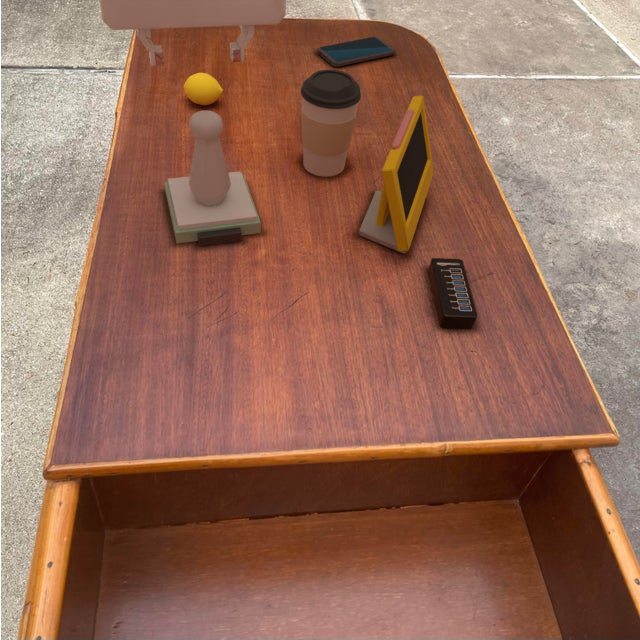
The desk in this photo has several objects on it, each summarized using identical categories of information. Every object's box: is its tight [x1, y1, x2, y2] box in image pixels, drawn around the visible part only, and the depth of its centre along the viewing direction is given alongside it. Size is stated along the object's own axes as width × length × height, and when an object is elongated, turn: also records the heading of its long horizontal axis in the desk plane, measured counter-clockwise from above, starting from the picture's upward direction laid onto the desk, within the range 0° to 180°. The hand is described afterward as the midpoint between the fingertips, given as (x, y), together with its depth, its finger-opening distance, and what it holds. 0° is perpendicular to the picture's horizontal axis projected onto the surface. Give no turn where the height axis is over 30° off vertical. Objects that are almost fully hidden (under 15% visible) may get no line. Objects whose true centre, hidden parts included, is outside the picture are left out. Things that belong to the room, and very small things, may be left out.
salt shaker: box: [189, 110, 231, 206], centre depth 88 cm, size 6×6×13 cm
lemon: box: [183, 72, 224, 106], centre depth 113 cm, size 7×5×5 cm
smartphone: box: [317, 36, 395, 68], centre depth 133 cm, size 8×15×1 cm, turn 121°
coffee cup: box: [300, 68, 362, 178], centre depth 100 cm, size 9×9×15 cm
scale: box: [163, 171, 262, 247], centre depth 93 cm, size 12×13×3 cm
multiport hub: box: [427, 257, 478, 330], centre depth 86 cm, size 4×11×2 cm, turn 2°
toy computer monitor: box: [358, 94, 435, 255], centre depth 91 cm, size 20×8×16 cm, turn 163°
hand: (197, 61), depth 76 cm, fingers open, 8 cm apart
